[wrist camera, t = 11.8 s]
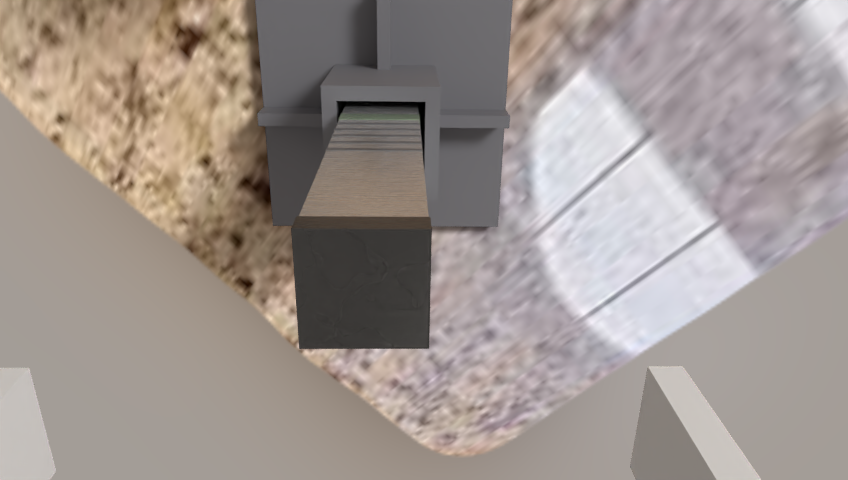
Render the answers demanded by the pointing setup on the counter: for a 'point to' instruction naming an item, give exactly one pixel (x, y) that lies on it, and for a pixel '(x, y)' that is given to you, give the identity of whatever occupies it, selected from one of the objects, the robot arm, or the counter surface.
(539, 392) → the counter surface
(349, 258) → the post
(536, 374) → the counter surface
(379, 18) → the jack base
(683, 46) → the counter surface
